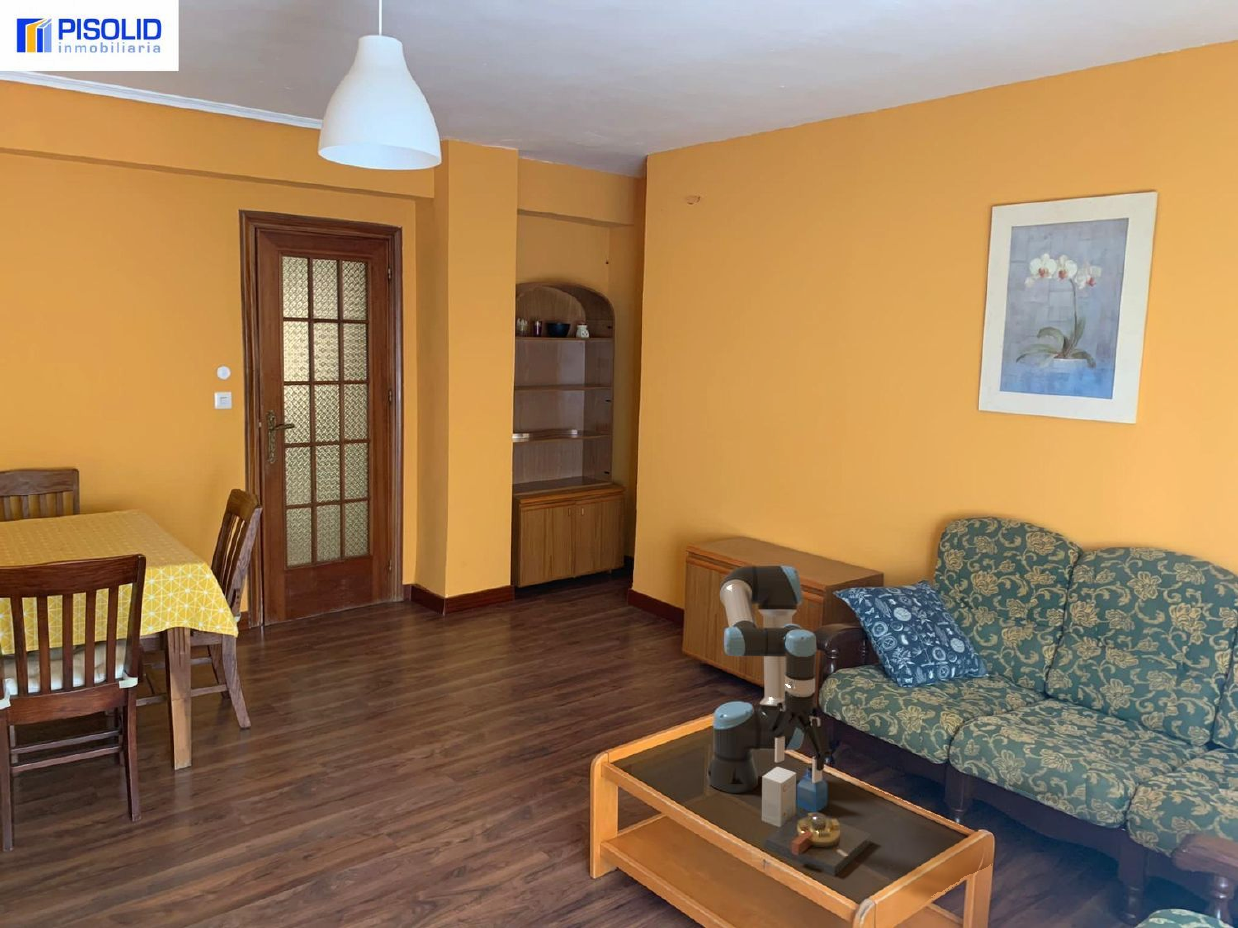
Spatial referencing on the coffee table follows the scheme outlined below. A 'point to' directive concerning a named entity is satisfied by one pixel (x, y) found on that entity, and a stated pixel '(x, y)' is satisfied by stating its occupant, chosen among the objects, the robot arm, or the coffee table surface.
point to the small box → (778, 796)
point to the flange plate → (819, 857)
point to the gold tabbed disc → (815, 835)
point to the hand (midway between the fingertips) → (797, 770)
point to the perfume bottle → (811, 792)
